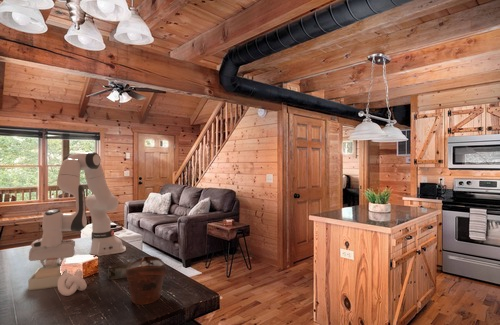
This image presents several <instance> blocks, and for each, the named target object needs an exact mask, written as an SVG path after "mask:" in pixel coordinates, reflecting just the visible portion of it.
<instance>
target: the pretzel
mask: <svg viewBox="0 0 500 325" xmlns="http://www.w3.org/2000/svg"><path fill="white" fill-rule="evenodd" d="M83 275H84V273H83V271H82V270H81V269H80V270H77V271H76V272H75V273H74V274H72V273H70V272H69V273H65V274H63V275H62V276H60V278H59V279H58V284H57V286H58V287H57V291H58V292H59V293H60V294H61V295H62V296H65V297H68V296H72V295H74V293H76V291H80V292H81V291H85V290H86V289H87V287H88V286H87V282H86V280H85V278H83Z"/></svg>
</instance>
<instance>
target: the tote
mask: <svg viewBox="0 0 500 325" xmlns="http://www.w3.org/2000/svg"><path fill="white" fill-rule="evenodd" d="M42 269H46V268H43V266H39V267H38V268H37V269H36V271H35V272H34V273H33V274H32V275H31V277H30V278H28V283H27V285H28V286H27V287H28V291H36V290H45V289H52V288H58V286H57V284H58V279H59V278H60V276H62V275H63V274H65V273H67V269H65V271H64V272H63V274H62V275H61V273H60V276H57V277H49V278H40V279H36V274H37V272H38V271H39V270H42ZM59 269H60V266H59Z"/></svg>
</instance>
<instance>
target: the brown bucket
mask: <svg viewBox="0 0 500 325" xmlns="http://www.w3.org/2000/svg"><path fill="white" fill-rule="evenodd" d="M132 262H133V263H131V264H130V265H129V266H128V267H127V269H126V274H125V277H126V280H127V284H126V285H125V287H127V289H128V291H129V296H130V299H131V303H133V304H135V305H142V306H143V305H149V304H152V303H154V302H157V301H158V300H159V299H160V298H161V296H162V289H163V284H164V279H165V275H167V274H168V272H167V266H166V264H165V263H164V261H163V260H162V259H161V258H159V257H158V256H153V255H148V256H147V255H146V256H142V257H140V258H138V259H136V260H134V261H132Z"/></svg>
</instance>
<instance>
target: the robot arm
mask: <svg viewBox="0 0 500 325" xmlns="http://www.w3.org/2000/svg"><path fill="white" fill-rule="evenodd" d="M101 160H102V159H101V156H100V155H99V154H98V153H97V152H94V151H87V152H86V151H80V152H76V153H68V154H66V155H65V156H64V157H63V160H62V163H61V165H60V167H59V170H58V174H57V179H56V185H57V187H58V188H59V190H61V191H62V192H64V193H67V194H69V195H72V196H74V198H75V213H72V212H70V213H65V212H64V213H63V212H62V210H60V209H57V208H55V209H49V210H46V211H45V212H43V217H42V224H41V225H42V227H41V228H42V236H41V237H40V238H39V239H36V240H33V241H32V242H31V244H30V247H31V248H30V249H29V251H28V260H29V261H30V262H35V261H39V262H40V264H41V265H42V267H43V268H46V262H45V261H46V260H47V259H55V258H59V263H58V267H59V266H61V264H62V265H63V261H64V260H65V259H66V258H72V257H74V256H75V253H76V251H75V247H76V241H75V240H74V239H71V238H70V239H63V232H78V233H79V232H81V231H82V230H84V229H85V228H86V226H87V225H88V219H87V210H88V211H89V214H90V217H91V222H92V227H91V228H92V230H91V231H92V232H91V234H90V235H91V245H90V246H91V247H90V250H89V254H90V255H91V256H92V255H94V256H97V257H98V256H99V257H100V256H101V257H102V256H108V255H113V254H121V253H124V252H126V250H127V248H126V246H125V245H123V242H122V241H123V240H122V239H121V238H119V237H117V236H116V235H115V231H114V230H112V228H111V225H112V224H111V218H110V217H109V215H108V213H107V212H114V211H115V210H117V209H118V207H119V204H120V203H119V202H120V201H119V199H118V197H116V196H115V195H114V194H113V193H112V191H111V189H110V188H109V186H108V184H107V180H106V177H105V173H104V170H103V167H102V165H101V162H102V161H101ZM81 171H83V172H84V176H85V180H86V184H87V188H88V191H90V192H91V194H90V195H88V196H86V192H85V188H84V186H83V185H82V184H81V182H80V180H81V179H80V178H81ZM86 208H87V210H86Z"/></svg>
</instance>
